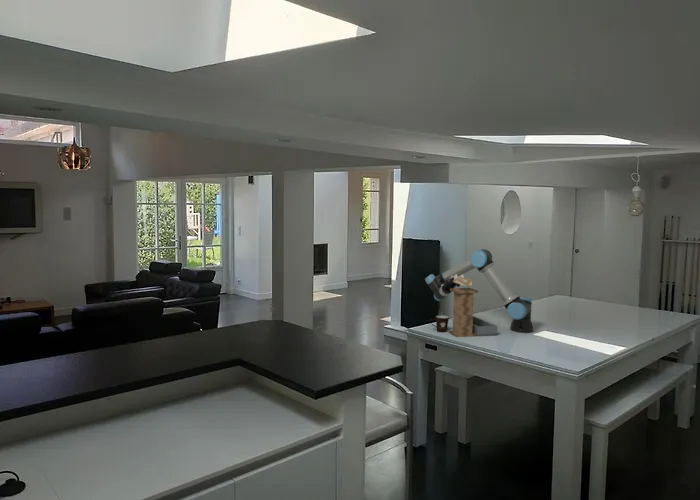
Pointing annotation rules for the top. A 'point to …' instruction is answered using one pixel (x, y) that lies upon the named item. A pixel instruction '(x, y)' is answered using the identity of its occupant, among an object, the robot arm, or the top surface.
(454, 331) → the stand
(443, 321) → the coffee mug
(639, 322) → the top surface
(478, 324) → the tray
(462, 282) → the batten
